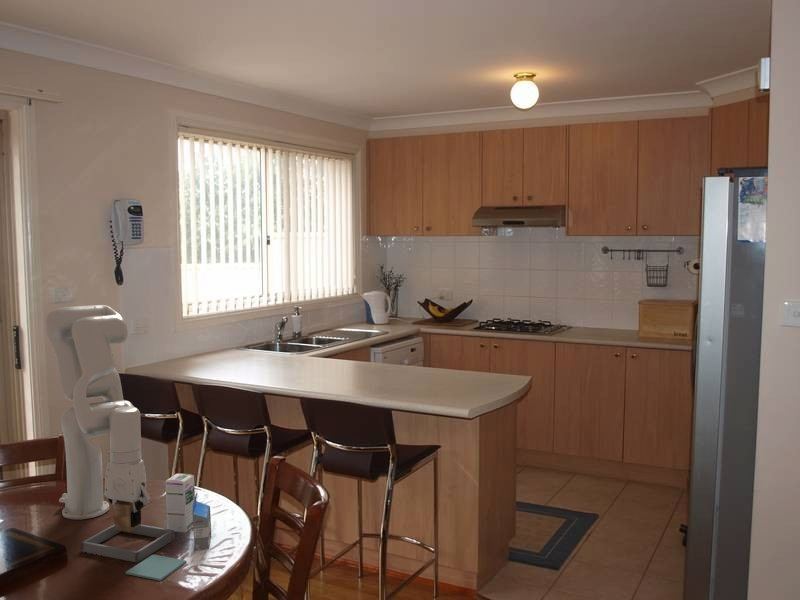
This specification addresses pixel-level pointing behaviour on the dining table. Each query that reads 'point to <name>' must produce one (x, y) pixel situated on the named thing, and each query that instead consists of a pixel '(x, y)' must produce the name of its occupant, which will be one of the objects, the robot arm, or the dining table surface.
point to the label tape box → (201, 525)
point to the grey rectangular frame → (135, 556)
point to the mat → (156, 567)
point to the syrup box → (180, 502)
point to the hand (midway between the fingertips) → (127, 522)
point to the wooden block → (123, 516)
